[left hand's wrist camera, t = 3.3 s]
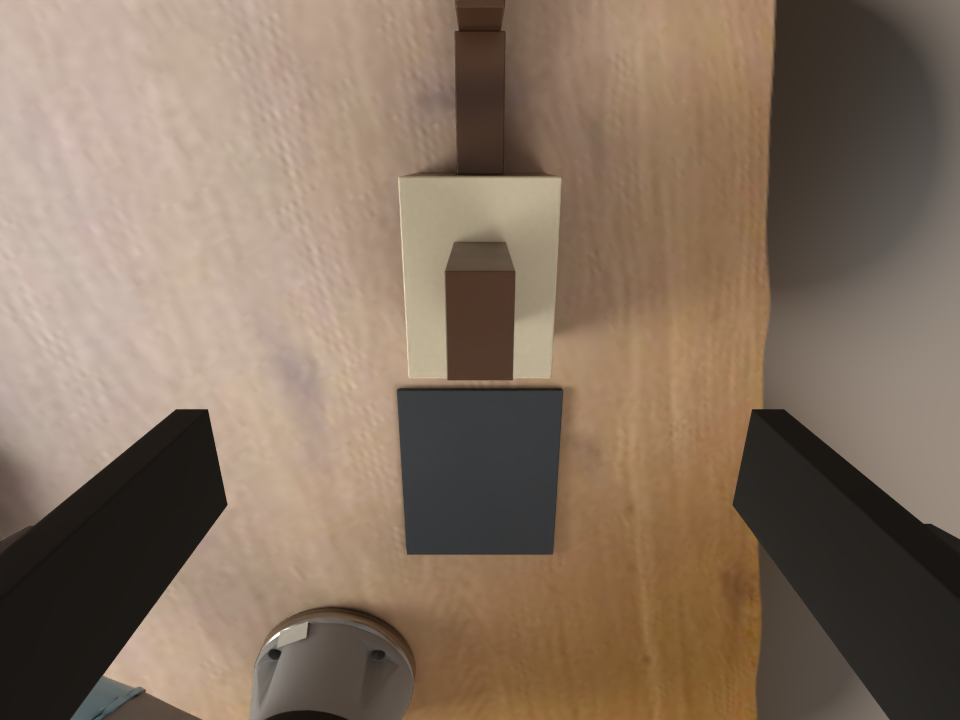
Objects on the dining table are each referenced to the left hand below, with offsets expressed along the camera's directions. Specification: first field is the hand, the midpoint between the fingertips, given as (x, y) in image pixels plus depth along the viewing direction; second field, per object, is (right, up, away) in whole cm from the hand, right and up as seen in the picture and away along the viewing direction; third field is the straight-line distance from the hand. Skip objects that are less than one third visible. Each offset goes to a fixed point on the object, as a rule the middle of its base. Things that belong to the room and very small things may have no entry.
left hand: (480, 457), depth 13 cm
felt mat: (0, -7, +31) cm, 32 cm away
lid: (0, +7, +19) cm, 21 cm away
